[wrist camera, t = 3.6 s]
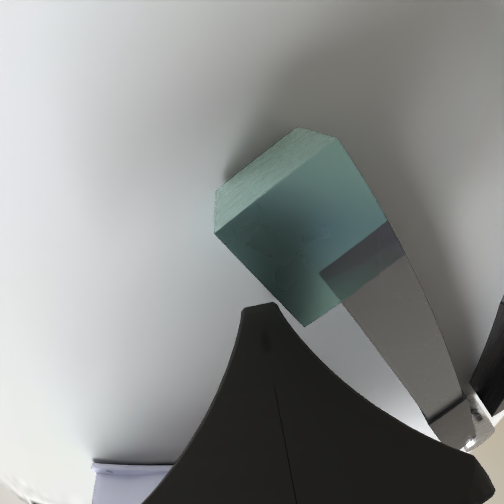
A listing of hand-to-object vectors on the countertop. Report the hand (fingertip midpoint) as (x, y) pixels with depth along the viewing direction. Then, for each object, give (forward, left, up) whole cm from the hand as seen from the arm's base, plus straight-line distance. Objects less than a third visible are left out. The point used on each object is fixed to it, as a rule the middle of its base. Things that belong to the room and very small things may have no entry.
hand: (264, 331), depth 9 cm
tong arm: (+7, -5, -1) cm, 8 cm away
